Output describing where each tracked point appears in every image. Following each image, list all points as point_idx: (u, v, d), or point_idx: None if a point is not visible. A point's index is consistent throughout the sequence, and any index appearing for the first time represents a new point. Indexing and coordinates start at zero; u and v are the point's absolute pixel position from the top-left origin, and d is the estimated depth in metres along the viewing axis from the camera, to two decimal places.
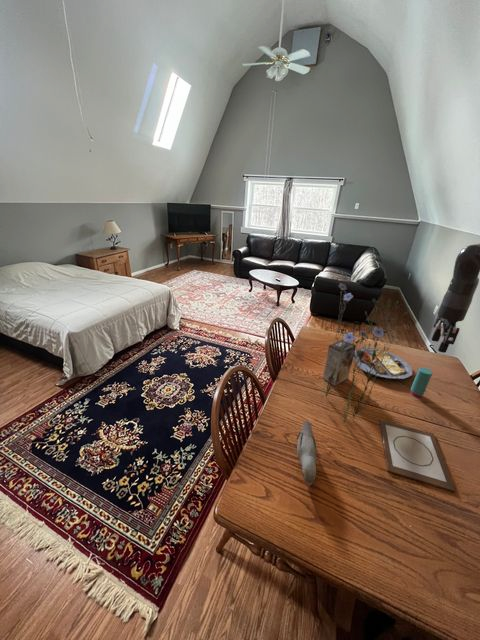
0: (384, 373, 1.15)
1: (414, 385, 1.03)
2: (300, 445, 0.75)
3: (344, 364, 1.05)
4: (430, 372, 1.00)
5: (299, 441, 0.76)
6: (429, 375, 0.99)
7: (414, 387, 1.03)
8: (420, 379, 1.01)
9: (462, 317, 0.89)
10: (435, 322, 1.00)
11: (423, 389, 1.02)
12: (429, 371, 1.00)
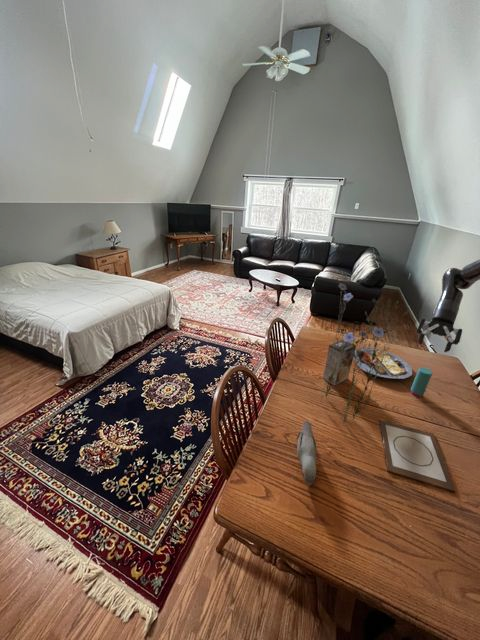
0: (384, 373, 1.15)
1: (414, 385, 1.03)
2: (300, 445, 0.75)
3: (344, 364, 1.05)
4: (430, 372, 1.00)
5: (299, 441, 0.76)
6: (429, 375, 0.99)
7: (414, 387, 1.03)
8: (420, 379, 1.01)
9: (436, 314, 1.08)
10: None
11: (423, 389, 1.02)
12: (429, 371, 1.00)
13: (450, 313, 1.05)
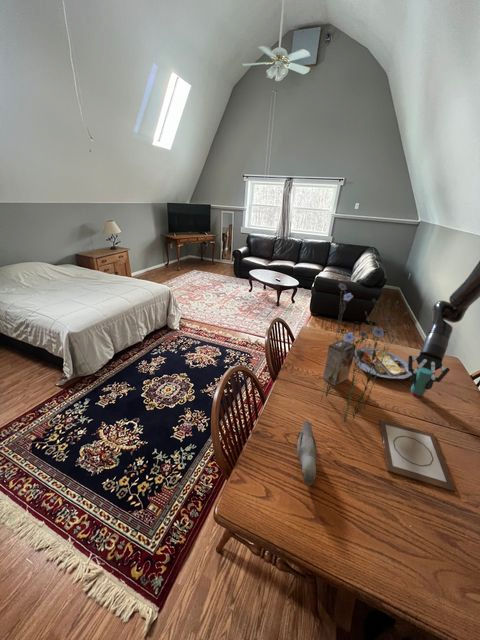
0: (384, 373, 1.15)
1: (414, 385, 1.03)
2: (300, 445, 0.75)
3: (344, 364, 1.05)
4: (430, 372, 1.00)
5: (299, 441, 0.76)
6: (429, 375, 0.99)
7: (414, 387, 1.03)
8: (420, 380, 1.01)
9: (423, 349, 1.04)
10: None
11: (423, 389, 1.02)
12: (429, 371, 1.00)
13: (438, 348, 1.01)
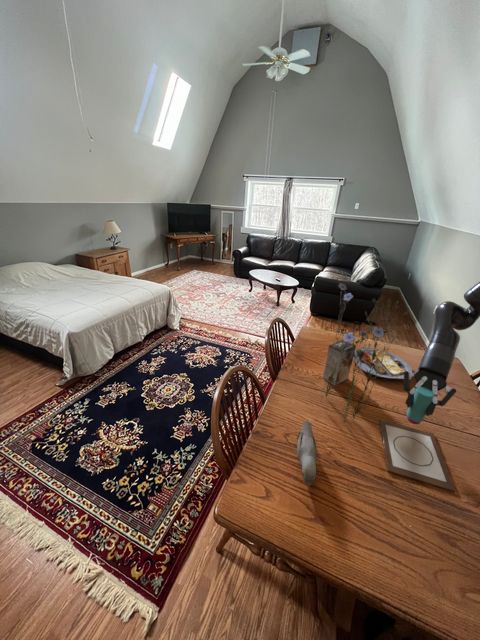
0: (384, 373, 1.15)
1: (411, 409, 0.81)
2: (300, 445, 0.75)
3: (344, 364, 1.05)
4: (431, 393, 0.78)
5: (298, 441, 0.76)
6: (430, 398, 0.77)
7: (411, 412, 0.81)
8: (418, 403, 0.79)
9: (423, 363, 0.82)
10: None
11: (422, 415, 0.80)
12: (430, 392, 0.78)
13: (442, 363, 0.79)
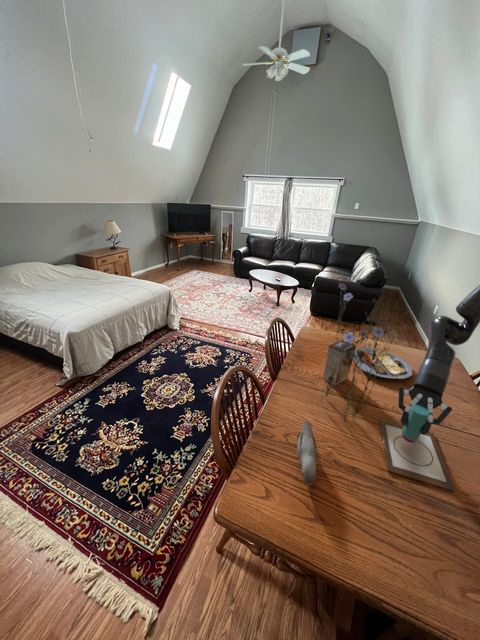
0: (384, 373, 1.15)
1: (406, 427, 0.79)
2: (300, 445, 0.75)
3: (344, 364, 1.05)
4: (426, 412, 0.76)
5: (298, 441, 0.76)
6: (425, 417, 0.75)
7: (406, 431, 0.79)
8: (413, 421, 0.77)
9: (418, 380, 0.81)
10: None
11: (418, 433, 0.78)
12: (425, 411, 0.76)
13: (437, 381, 0.78)
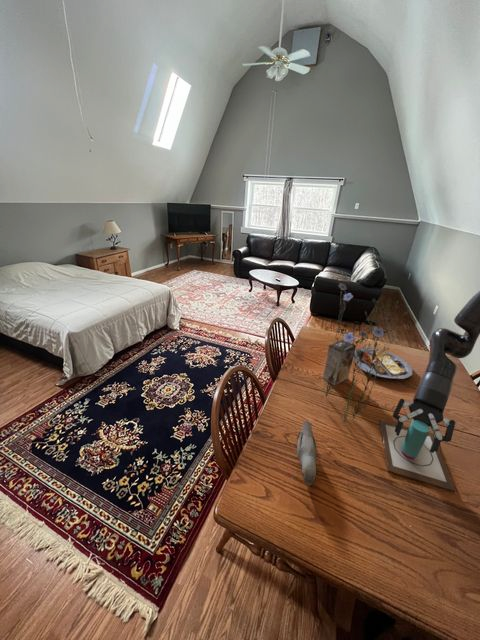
0: (384, 373, 1.15)
1: (406, 443, 0.77)
2: (300, 445, 0.75)
3: (344, 364, 1.05)
4: (426, 428, 0.74)
5: (298, 441, 0.76)
6: (425, 433, 0.73)
7: (405, 447, 0.77)
8: (412, 438, 0.75)
9: (418, 395, 0.78)
10: None
11: (417, 450, 0.75)
12: (425, 427, 0.74)
13: (438, 396, 0.75)
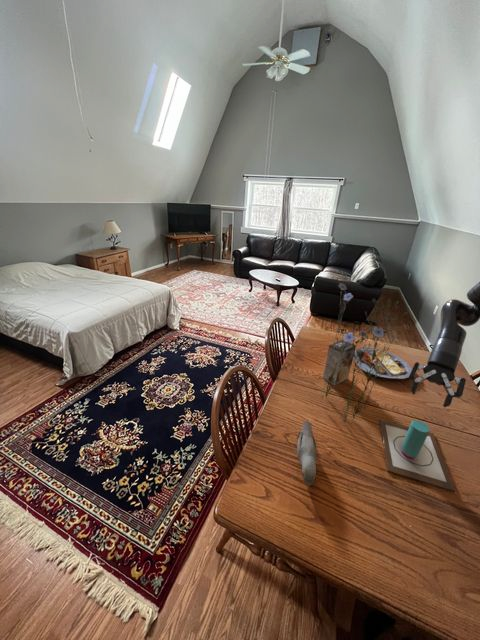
0: (384, 373, 1.15)
1: (406, 443, 0.77)
2: (300, 445, 0.75)
3: (344, 364, 1.05)
4: (426, 428, 0.74)
5: (298, 441, 0.76)
6: (425, 433, 0.73)
7: (405, 447, 0.77)
8: (412, 438, 0.75)
9: (432, 357, 0.87)
10: None
11: (417, 450, 0.75)
12: (425, 427, 0.74)
13: (450, 357, 0.84)
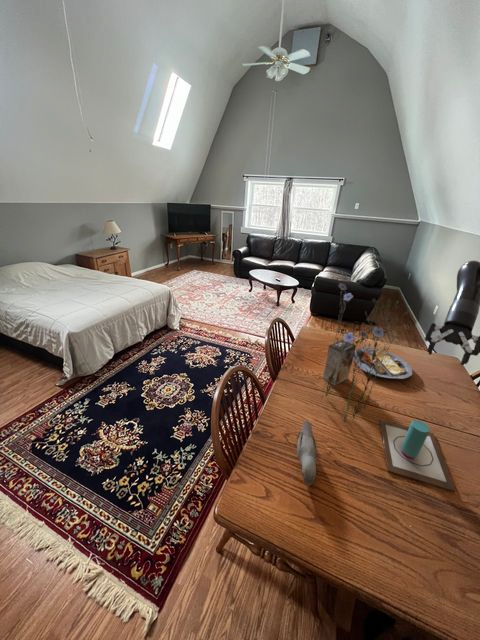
0: (384, 373, 1.15)
1: (406, 443, 0.77)
2: (300, 445, 0.75)
3: (344, 364, 1.05)
4: (426, 428, 0.74)
5: (298, 441, 0.76)
6: (425, 433, 0.73)
7: (405, 447, 0.77)
8: (412, 438, 0.75)
9: (449, 318, 0.87)
10: (476, 349, 0.84)
11: (417, 450, 0.75)
12: (425, 427, 0.74)
13: (467, 316, 0.84)
